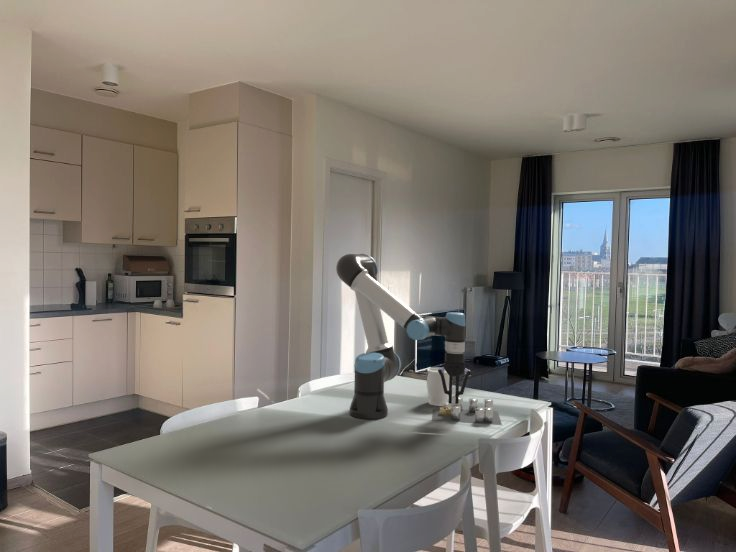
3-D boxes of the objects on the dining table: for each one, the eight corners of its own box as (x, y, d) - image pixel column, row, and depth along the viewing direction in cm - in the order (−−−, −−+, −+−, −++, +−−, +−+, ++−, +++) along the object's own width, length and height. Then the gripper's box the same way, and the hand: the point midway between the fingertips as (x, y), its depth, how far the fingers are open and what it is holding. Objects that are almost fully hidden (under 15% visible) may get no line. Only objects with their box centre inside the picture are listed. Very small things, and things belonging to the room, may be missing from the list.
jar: (452, 408, 237) (453, 372, 236) (427, 407, 237) (428, 371, 236) (449, 401, 247) (450, 367, 247) (425, 401, 247) (426, 366, 247)
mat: (431, 422, 216) (431, 420, 216) (433, 408, 235) (433, 407, 235) (501, 426, 212) (501, 424, 212) (497, 412, 231) (497, 411, 231)
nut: (439, 415, 223) (440, 409, 223) (440, 412, 228) (440, 405, 228) (451, 416, 222) (451, 410, 222) (451, 412, 227) (451, 406, 227)
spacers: (450, 421, 215) (451, 408, 215) (450, 408, 234) (451, 396, 234) (495, 424, 213) (496, 411, 213) (492, 411, 231) (492, 398, 231)
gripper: (437, 352, 221) (436, 413, 222) (472, 354, 219) (470, 415, 220) (438, 349, 228) (436, 408, 229) (471, 351, 226) (469, 410, 227)
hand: (453, 411), depth 224 cm, fingers closed
